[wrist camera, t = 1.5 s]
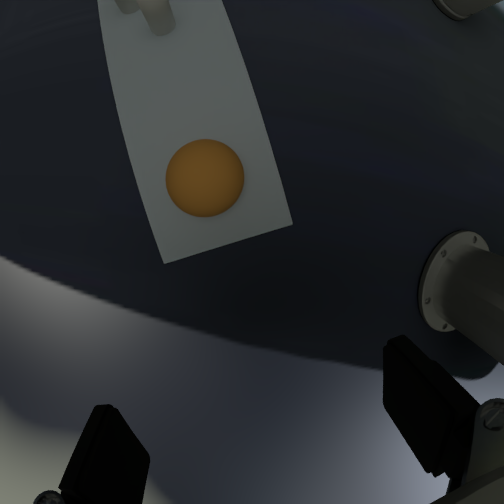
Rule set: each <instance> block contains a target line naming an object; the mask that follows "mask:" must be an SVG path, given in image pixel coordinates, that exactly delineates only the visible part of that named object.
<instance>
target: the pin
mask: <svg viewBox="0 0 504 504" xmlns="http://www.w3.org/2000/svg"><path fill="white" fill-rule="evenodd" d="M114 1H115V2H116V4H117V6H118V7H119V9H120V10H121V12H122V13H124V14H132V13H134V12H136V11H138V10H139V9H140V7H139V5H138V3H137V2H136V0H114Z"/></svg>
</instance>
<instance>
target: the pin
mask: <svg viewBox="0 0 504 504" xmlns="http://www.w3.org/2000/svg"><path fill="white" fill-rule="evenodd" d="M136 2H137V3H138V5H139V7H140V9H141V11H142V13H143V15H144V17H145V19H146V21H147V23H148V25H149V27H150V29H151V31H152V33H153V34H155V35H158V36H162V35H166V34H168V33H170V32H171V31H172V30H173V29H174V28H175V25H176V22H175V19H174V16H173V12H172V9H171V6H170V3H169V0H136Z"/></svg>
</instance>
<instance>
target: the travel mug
mask: <svg viewBox="0 0 504 504" xmlns="http://www.w3.org/2000/svg"><path fill="white" fill-rule="evenodd" d="M433 1H434V2H435V4H436V5H437V6H438V8H439V9H440V10H441V11H442V12H443V13H445V14H446V15H447V16H449V17H450V18H452V19H454V20H458V21H460V20H463V19H465V18H467V17H468V16H471V15H473V14H475V13H477V12H479V11H481V10H483V9H485V8H487V7H489V6H491V5H494V4H496V3H498V2H500V1H503V0H433Z"/></svg>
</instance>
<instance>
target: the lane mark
mask: <svg viewBox="0 0 504 504" xmlns="http://www.w3.org/2000/svg"><path fill="white" fill-rule="evenodd" d="M169 3H170V6H171V9H172V12H173V16H174V19H175V22H176V25H175V28H174V29H173V30H172V31H171V32H170V33H168V34H166V35H162V36H158V35H155V34H153V33H152V31H151V29H150V27H149V25H148V23H147V21H146V19H145V17H144V15H143V13H142V11H141V9H139V10H138V11H136V12H134V13H132V14H124V13H122V12H121V10H120V9H119V7H118V6H117V4H116V2H115V1H114V0H98V8H99V16H100V23H101V29H102V36H103V42H104V48H105V53H106V59H107V64H108V69H109V74H110V79H111V84H112V89H113V93H114V98H115V102H116V106H117V111H118V115H119V119H120V123H121V127H122V131H123V135H124V139H125V143H126V146H127V150H128V154H129V157H130V161H131V164H132V168H133V171H134V175H135V178H136V181H137V185H138V188H139V191H140V194H141V198H142V201H143V204H144V207H145V210H146V213H147V216H148V219H149V222H150V225H151V228H152V231H153V234H154V237H155V240H156V243H157V246H158V248H159V251H160V254H161V257H162V259H163V262H164V264H166V263H169V262H172V261H175V260H178V259H182V258H185V257H188V256H191V255H194V254H198V253H201V252H204V251H207V250H210V249H214V248H217V247H220V246H223V245H227V244H230V243H233V242H236V241H240V240H243V239H246V238H250V237H253V236H256V235H259V234H263V233H266V232H269V231H273V230H276V229H279V228H283V227H286V226H289V225H293V223H292V219H291V216H290V212H289V208H288V204H287V201H286V197H285V194H284V190H283V186H282V183H281V179H280V176H279V172H278V169H277V165H276V162H275V159H274V155H273V152H272V148H271V145H270V142H269V138H268V135H267V132H266V129H265V125H264V122H263V119H262V116H261V113H260V109H259V106H258V103H257V100H256V97H255V94H254V91H253V88H252V85H251V82H250V79H249V76H248V73H247V70H246V67H245V64H244V61H243V58H242V55H241V52H240V49H239V46H238V44H237V41H236V38H235V35H234V32H233V30H232V27H231V24H230V21H229V19H228V16H227V13H226V10H225V8H224V5H223V3H222V0H169ZM199 139H212V140H216V141H220V142H222V143H224V144H226V145H227V146H229V147H230V148H231V149H232V150H233V151H234V152H235V153H236V154H237V156H238V157H239V159H240V161H241V163H242V166H243V170H244V185H243V189H242V192H241V194H240V196H239V198H238V200H237V201H236V202H235V203H234V205H233V206H232V207H230V208H229V209H228V210H226V211H225V212H223V213H221V214H219V215H216V216H212V217H196V216H192V215H190V214H187V213H185V212H184V211H182V210H181V209H179V208H178V207H177V206H176V205H175V204H174V202H173V201H172V200H171V198H170V196H169V194H168V191H167V188H166V181H165V179H166V170H167V167H168V164H169V162H170V160H171V158H172V156H173V155H174V154H175V153H176V152H177V151H178V150H179V149H180V148H181V147H182V146H184V145H185V144H187V143H189V142H192V141H195V140H199Z"/></svg>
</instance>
